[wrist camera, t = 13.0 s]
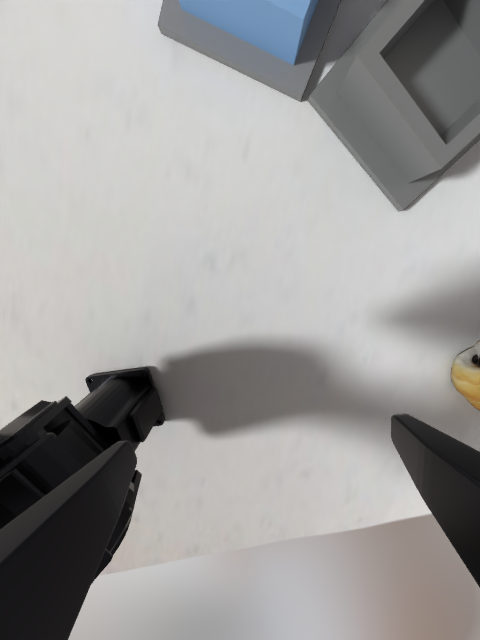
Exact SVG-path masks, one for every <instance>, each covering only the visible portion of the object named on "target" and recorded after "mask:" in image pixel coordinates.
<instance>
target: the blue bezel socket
mask: <svg viewBox="0 0 480 640" xmlns="http://www.w3.org/2000/svg"><path fill="white" fill-rule="evenodd" d="M340 1H341V0H163V3H162V7H161V12H160V16H159V21H158V27H159V29H160V31H161V34H163V35H165V36H167V37H170V38H172V39H174V40H176V41H178V42H180V43H182V44H184V45H186V46H188V47H190V48H192V49H194V50H196V51H198V52H200V53H202V54H204V55H206V56H208V57H210V58H212V59H214V60H216V61H218V62H220V63H223V64H225V65H227V66H229V67H231V68H233V69H235V70H237V71H239V72H241V73H243V74H245V75H247V76H249V77H251V78H253V79H255V80H257V81H259V82H261V83H263V84H265V85H267V86H269V87H271V88H273V89H275V90H278V91H280V92H282V93H284V94H286V95H288V96H290V97H292V98H294V99H296V100H298V101H301V99H302V96H303V94H304V91H305V89H306V86H307V84H308V81H309V79H310V76H311V74H312V71H313V69H314V66H315V64H316V61H317V59H318V56H319V54H320V51H321V49H322V46H323V44H324V41H325V39H326V36H327V34H328V31H329V29H330V26H331V24H332V21H333V19H334V16H335V14H336V11H337V9H338V6H339V4H340Z"/></svg>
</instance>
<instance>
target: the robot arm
mask: <svg viewBox="0 0 480 640" xmlns="http://www.w3.org/2000/svg"><path fill="white" fill-rule="evenodd" d="M142 372H144V373H145V374H146V375H145V374H143V373H142ZM91 379H92V380H93V381H92V380H91ZM86 383H87V386H88V388H89V391H90V393H89V394H88V395H87V396H86V397H85V398H84V399H83V400H81V401H80V402H79V403H78V404H77V405H76V406H73V405H72V404H71V403H70V402H72V401H71V400H70V399H69V398H68V397H67V396H66V397H64V398H63V399H61V400H60V401H58V402H56V401H54V402H52V403H51V402H47V401H40V402H39V403H37V404H36V405H34V406H33V407H32V408H30V409H29V410H27V411H26V412H24V413H23V414H22V415H20V416H19V417H17V418H16V419H15V420H13V421H12V422H10V423H9V424H8V425H6V426H5V427H4V428H2V429H1V430H0V640H68V638H69V636H70V633H71V631H72V628H73V626H74V624H75V621H76V619H77V616H78V614H79V612H80V609H81V607H82V604H83V602H84V600H85V597H86V595H87V593H88V590H89V588H90V585H91V584H92V583H93V581H94V579H96V578H97V576H98V575H99V574H100V573H101V572H102V571H103V569H104V568H105V567H106V566H107V565H108V564H109V562H110V561H111V559H112V557H113V555H114V553H115V552H116V550H117V549H118V547H119V546H120V544H121V542H122V540H123V539H124V537H125V534H126V532H127V530H128V527H129V524H130V521H131V517H132V513H133V509H134V504H135V500H136V496H137V492H138V488H139V484H140V480H141V476H142V474H141V473H140V472H139V471H138V470H135V468H136V464H137V457H136V454H135V450H136V449H137V447H138V445H139V444H140V442H144V441H145V439H146V438H147V436H148V434H149V433H150V431H151V429H152V427H153V426H160V425H162V424H163V423H164V421H165V417H164V414H163V411H162V410H163V408H162V405H161V402H160V399H159V395H158V392H157V389H156V388H155V386H154V383H153V380H152V377H151V374H150V371H149V370H148V369H147V368H137V369H130V370H122V371H115V372H107V373H100V374H92V375H89V376H88V377H87V378H86ZM159 420H161V421H159ZM391 438H392V441H393V444H394V446H395V448H396V449H397V451H398V453H399V455H400V457H401V459H402V461H403V463H404V465H405V467H406V468H407V470H408V472H409V474H410V476H411V478H412V480H413V482H414V484H415V486H416V487H417V489H418V491H419V493H420V495H421V496H422V498H423V500H424V501H425V503H426V505H427V506H428V508H429V509H430V511H431V512H432V514H433V516H434V517H435V518H436V520H437V521H438V523H439V525H440V526H441V528H442V530H443V531H444V532H445V534H446V536H447V537H448V539H449V540H450V542H451V543H452V545H453V547H454V548H455V550H456V551H457V553H458V554H459V556H460V558H461V559H462V561H463V562H464V564H465V565H466V567H467V568H468V570H469V572H470V573H471V575H472V576H473V577H474V579H475V581H476V582H477V584H478V586H479V587H480V452H479V451H477V450H475V449H473V448H471V447H470V446H468V445H466V444H464V443H462V442H460V441H458V440H456V439H454V438H452V437H450V436H448V435H447V434H445V433H443V432H441V431H439V430H437V429H435V428H433V427H431V426H429V425H427V424H426V423H424V422H422V421H420V420H418V419H416V418H414V417H412V416H410V415H408V414H396V415H393V416H392V418H391Z"/></svg>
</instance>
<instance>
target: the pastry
mask: <svg viewBox="0 0 480 640" xmlns="http://www.w3.org/2000/svg"><path fill="white" fill-rule="evenodd" d="M451 380H452V383H453V384H454V386H455V388H456V389H457V391H459V392H460V393H461V394H462V395H463V396H464V397H465V398H466V399H467V400H468V401H469V402H470V403H471V404H472V405H473V406H474V407H475V408H477V409H479V410H480V341H479V342H477V343H476V344H475V345H474V346H473V347H472V348H470V349H468V350H466V351H464V352H462V353H461V354H459V355H458V356H456V358H455V359H454V362H453V366H452V368H451Z"/></svg>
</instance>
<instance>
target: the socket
mask: <svg viewBox="0 0 480 640" xmlns="http://www.w3.org/2000/svg"><path fill="white" fill-rule="evenodd" d="M308 101H309V103H310V104H311V105H312V106H313V108H314V109H315V110H316V111H317V112H318V114H319V115H320V116H321V117H322V119H323V120H324V121H325V122H326V123H327V125H328V126H329V127H330V128H331V130H332V131H333V132H334V133H335V134H336V136H337V137H338V138H339V139H340V141H341V142H342V143H343V144H344V145H345V147H346V148H347V149H348V150H349V152H350V153H351V154H352V155H353V156H354V158H355V159H356V160H357V161H358V163H359V164H360V165H361V166H362V167H363V169H364V170H365V171H366V172H367V174H368V175H369V176H370V177H371V178H372V180H373V181H374V182H375V183H376V185H377V186H378V187H379V188H380V189H381V191H382V192H383V193H384V194H385V196H386V197H387V198H388V199H389V200H390V202H391V203H392V204H393V205H394V207H395V208H396V209H397V210H398V211H401V210H404V209H405V208H406V207H407V206H408V205H409V204H410V203H412V202H413V201H414V200H415V199H416V198H417V197H418V196H419V195H420V194H421V193H422V192H423V191H425V190H426V189H427V188H428V187H429V186H430V185H431V184H432V183H433V182H434V181H435V180H436V179H437V178H439V177H440V176H441V175H442V174H443V173H444V172H445V171H446V170H447V169H448V168H449V167H450V166H452V165H453V164H454V163H455V162H456V161H457V160H458V159H459V158H460V157H461V156H462V155H463V154H465V153H466V152H467V151H468V150H469V149H470V148H471V147H472V146H473V145H474V144H475V143H476V142H478V141H479V140H480V0H388V1H387V2H386V3H385V4H384V5H383V7H382V8H381V9H380V10H379V12H378V13H377V14H376V15H375V16H374V18H373V19H372V20H371V21H370V22H369V24H368V25H367V26H366V27H365V29H364V30H363V31H362V32H361V33H360V35H359V36H358V37H357V38H356V39H355V41H354V42H353V43H352V44H351V46H350V47H349V48H348V49H347V50H346V52H345V53H344V54H343V55H342V56H341V58H340V59H339V60H338V61H337V63H336V64H335V65H334V66H333V67H332V69H331V70H330V71H329V72H328V73H327V75H326V76H325V77H324V78H323V80H322V81H321V82H320V83H319V84H318V86H317V87H316V88H315V89H314V91H313V92H312V93H311V94H310V96H309V99H308Z"/></svg>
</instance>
